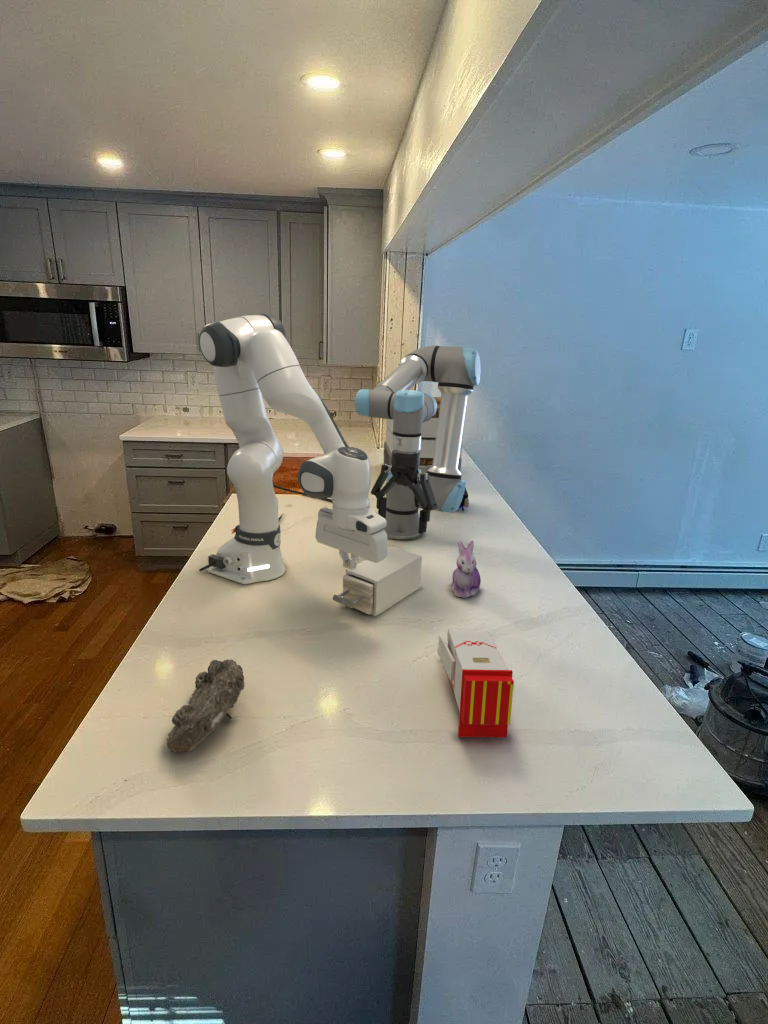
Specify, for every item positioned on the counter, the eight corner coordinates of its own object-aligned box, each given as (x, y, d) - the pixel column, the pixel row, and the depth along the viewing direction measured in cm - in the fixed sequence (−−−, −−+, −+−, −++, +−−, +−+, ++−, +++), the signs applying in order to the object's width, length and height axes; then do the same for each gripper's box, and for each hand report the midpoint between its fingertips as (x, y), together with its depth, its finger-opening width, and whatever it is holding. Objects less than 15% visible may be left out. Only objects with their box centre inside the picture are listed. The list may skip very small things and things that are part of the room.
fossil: (192, 660, 117) (244, 628, 112) (224, 691, 120) (276, 661, 115) (142, 746, 98) (202, 712, 93) (182, 779, 101) (242, 748, 96)
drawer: (355, 624, 140) (355, 595, 137) (327, 612, 145) (327, 583, 142) (412, 588, 159) (414, 561, 157) (386, 578, 164) (387, 552, 162)
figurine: (461, 602, 155) (467, 551, 150) (441, 586, 163) (445, 537, 158) (489, 595, 159) (495, 546, 154) (468, 580, 167) (473, 533, 162)
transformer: (382, 463, 289) (386, 382, 275) (445, 464, 293) (451, 384, 279) (390, 482, 257) (394, 392, 243) (460, 483, 261) (468, 394, 247)
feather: (290, 508, 223) (292, 504, 223) (272, 532, 197) (275, 527, 196) (286, 505, 223) (289, 501, 223) (268, 529, 197) (271, 525, 196)
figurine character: (468, 516, 224) (463, 500, 237) (471, 498, 221) (465, 483, 234) (452, 515, 224) (447, 499, 237) (453, 498, 220) (449, 482, 234)
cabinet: (375, 616, 146) (377, 581, 143) (345, 603, 152) (345, 569, 148) (419, 588, 162) (422, 556, 158) (390, 577, 167) (392, 546, 164)
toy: (488, 613, 130) (523, 677, 101) (484, 667, 133) (517, 744, 104) (435, 612, 130) (455, 676, 101) (432, 666, 133) (451, 743, 103)
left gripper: (309, 508, 139) (310, 559, 144) (376, 529, 128) (373, 584, 132) (327, 502, 144) (326, 552, 148) (392, 522, 133) (389, 575, 137)
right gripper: (359, 444, 152) (357, 518, 159) (439, 462, 139) (432, 542, 146) (376, 440, 158) (373, 512, 165) (454, 456, 144) (447, 534, 152)
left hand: (349, 567), depth 140 cm, fingers closed
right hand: (401, 526), depth 156 cm, fingers open, 13 cm apart
